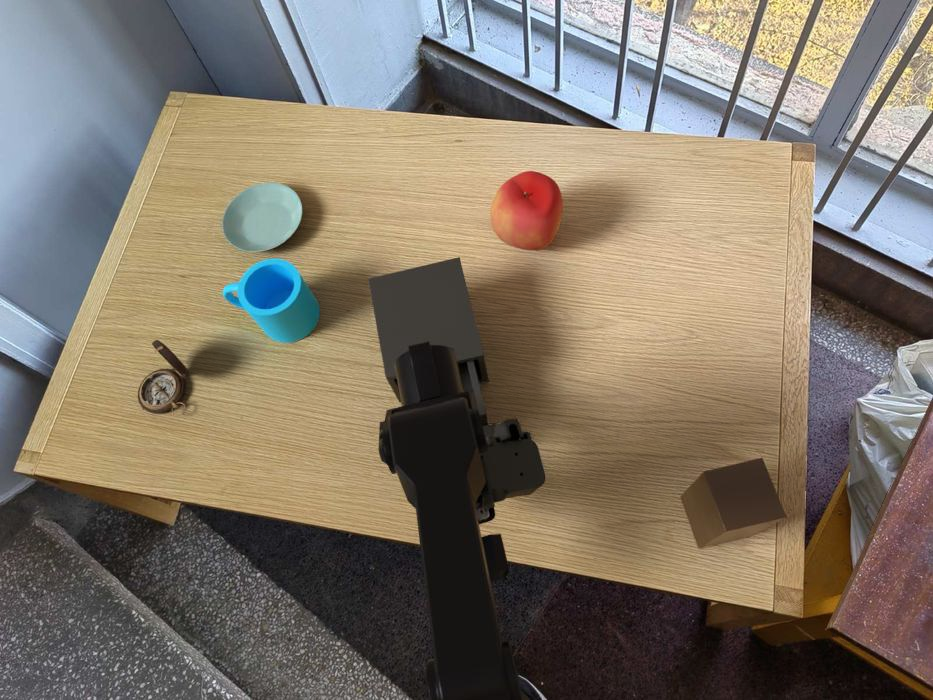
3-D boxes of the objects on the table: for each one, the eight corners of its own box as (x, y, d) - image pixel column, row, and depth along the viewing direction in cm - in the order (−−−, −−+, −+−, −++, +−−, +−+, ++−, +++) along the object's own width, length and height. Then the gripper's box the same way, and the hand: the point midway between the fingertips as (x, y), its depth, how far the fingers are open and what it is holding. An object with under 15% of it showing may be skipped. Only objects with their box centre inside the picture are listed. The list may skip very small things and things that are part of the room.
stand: (750, 536, 76) (786, 517, 65) (698, 548, 76) (725, 531, 65) (730, 484, 78) (762, 457, 67) (680, 496, 78) (703, 471, 67)
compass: (131, 396, 90) (99, 375, 84) (177, 353, 92) (149, 330, 85) (167, 433, 87) (137, 415, 81) (213, 389, 89) (188, 368, 83)
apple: (524, 195, 97) (523, 148, 88) (577, 230, 94) (581, 185, 85) (479, 239, 95) (473, 196, 86) (531, 277, 92) (531, 236, 83)
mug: (326, 292, 94) (308, 261, 86) (311, 346, 91) (290, 319, 83) (245, 283, 96) (221, 252, 88) (227, 335, 92) (200, 308, 85)
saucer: (226, 265, 97) (219, 256, 95) (229, 197, 102) (223, 188, 100) (307, 253, 97) (302, 245, 95) (306, 186, 101) (302, 176, 99)
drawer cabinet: (488, 381, 86) (483, 354, 78) (399, 402, 86) (385, 378, 78) (466, 290, 92) (459, 256, 84) (382, 310, 92) (367, 278, 84)
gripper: (565, 554, 58) (559, 572, 72) (512, 357, 65) (516, 409, 79) (436, 584, 58) (456, 597, 72) (399, 384, 65) (423, 431, 79)
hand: (466, 503), depth 76 cm, fingers closed
